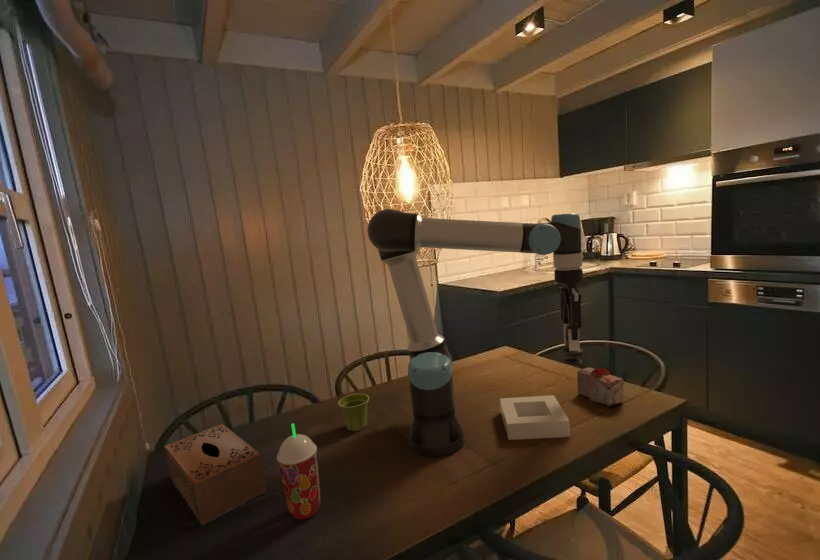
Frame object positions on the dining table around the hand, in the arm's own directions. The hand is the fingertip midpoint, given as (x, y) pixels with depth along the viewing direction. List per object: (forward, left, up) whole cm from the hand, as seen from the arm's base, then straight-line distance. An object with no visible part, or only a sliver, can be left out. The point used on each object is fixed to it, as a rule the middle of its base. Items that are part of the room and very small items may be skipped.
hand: (571, 347), depth 118 cm
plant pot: (-66, -3, -19) cm, 69 cm away
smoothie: (-69, -40, -19) cm, 82 cm away
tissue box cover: (-95, -30, -20) cm, 102 cm away
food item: (+9, +6, -19) cm, 22 cm away
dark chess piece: (0, 0, -4) cm, 4 cm away
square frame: (-14, -7, -19) cm, 25 cm away
